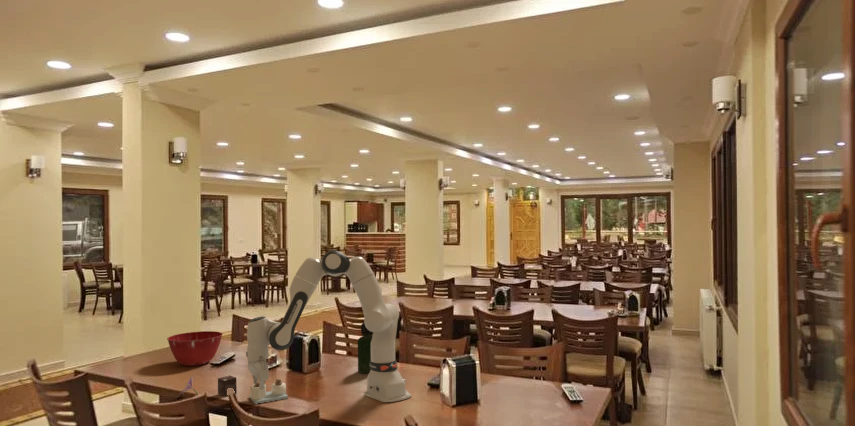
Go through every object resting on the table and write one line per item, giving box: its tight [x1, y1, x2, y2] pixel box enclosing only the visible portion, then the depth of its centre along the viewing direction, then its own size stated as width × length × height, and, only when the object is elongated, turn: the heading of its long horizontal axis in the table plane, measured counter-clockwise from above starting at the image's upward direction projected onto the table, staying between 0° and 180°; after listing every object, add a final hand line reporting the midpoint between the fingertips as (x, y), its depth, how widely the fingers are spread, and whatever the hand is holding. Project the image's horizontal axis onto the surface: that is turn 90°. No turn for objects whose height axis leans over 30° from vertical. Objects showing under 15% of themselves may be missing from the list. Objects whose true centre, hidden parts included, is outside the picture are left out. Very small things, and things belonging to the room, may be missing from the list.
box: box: [217, 375, 237, 397], centre depth 247 cm, size 6×6×7 cm
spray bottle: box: [357, 322, 373, 375], centre depth 281 cm, size 10×10×25 cm
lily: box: [176, 375, 199, 399], centre depth 245 cm, size 12×12×10 cm
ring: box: [250, 383, 267, 400], centre depth 237 cm, size 6×6×5 cm
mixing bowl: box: [167, 330, 223, 367], centre depth 304 cm, size 28×28×16 cm
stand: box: [248, 378, 289, 405], centre depth 240 cm, size 11×15×7 cm
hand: (258, 386), depth 237 cm, fingers open, 8 cm apart
